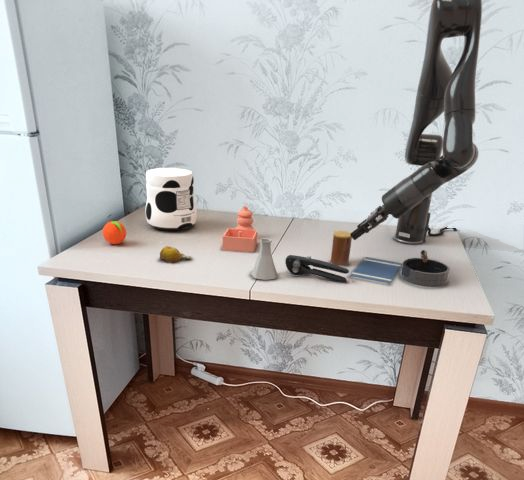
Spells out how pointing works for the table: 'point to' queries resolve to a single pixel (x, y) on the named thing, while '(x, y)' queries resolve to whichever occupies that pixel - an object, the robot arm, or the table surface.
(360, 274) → the tea towel
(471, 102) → the robot arm
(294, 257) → the can opener
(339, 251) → the chocolate tin
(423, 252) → the pan handle
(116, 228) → the clementine
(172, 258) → the fruit
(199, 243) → the table surface
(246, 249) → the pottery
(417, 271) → the pan
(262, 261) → the flask
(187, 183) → the milk container
